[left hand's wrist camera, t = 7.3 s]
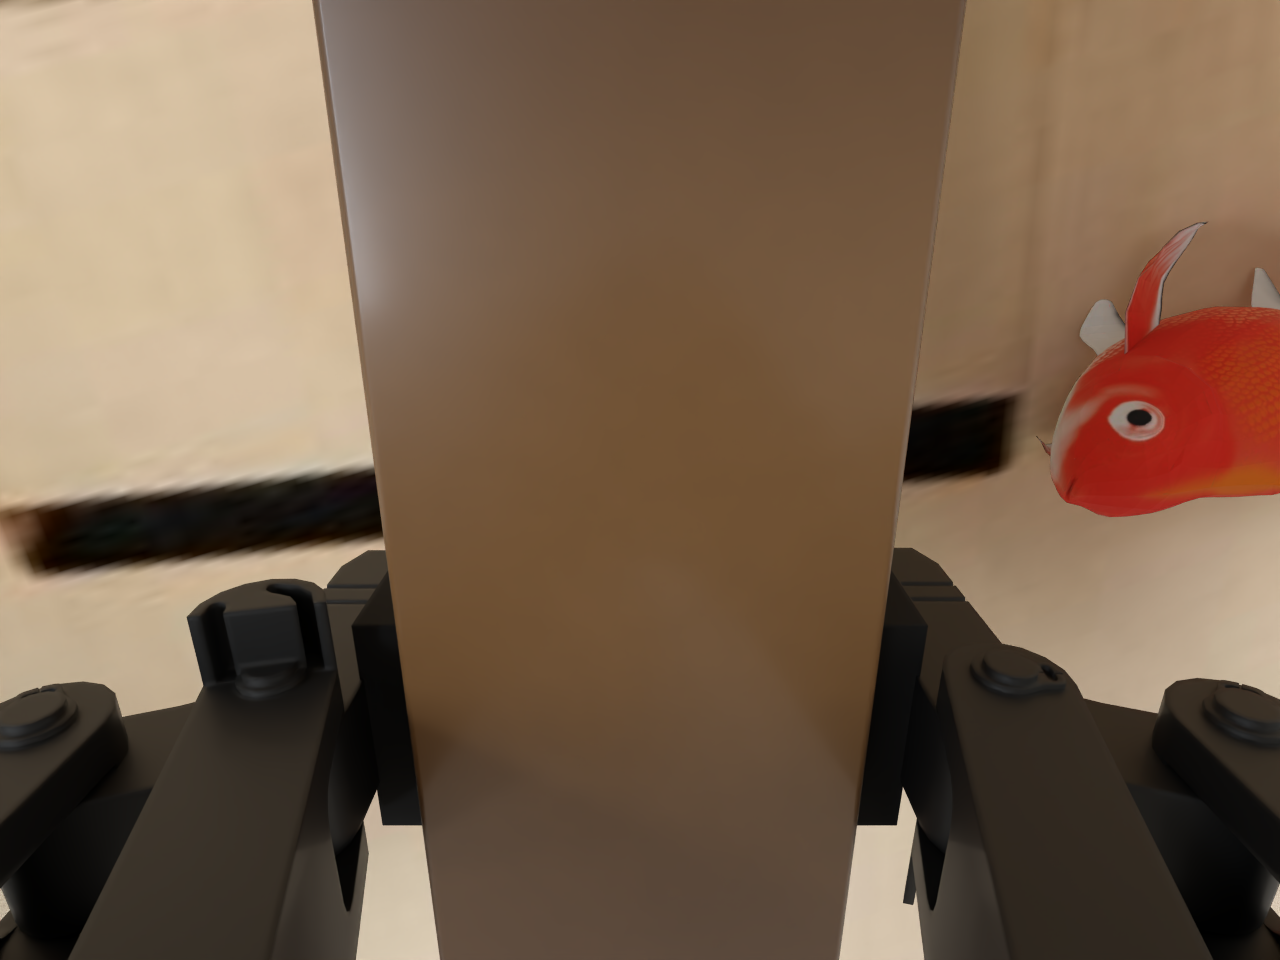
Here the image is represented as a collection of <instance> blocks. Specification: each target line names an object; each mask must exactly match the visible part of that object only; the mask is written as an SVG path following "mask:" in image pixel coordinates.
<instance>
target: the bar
mask: <svg viewBox="0 0 1280 960" xmlns="http://www.w3.org/2000/svg"><path fill="white" fill-rule="evenodd" d="M966 1H967V0H312V3H313V10H314V18H315V25H316V33H317V40H318V48H319V55H320V63H321V70H322V78H323V85H324V93H325V100H326V108H327V115H328V123H329V130H330V138H331V145H332V153H333V160H334V168H335V175H336V183H337V190H338V198H339V205H340V213H341V220H342V228H343V235H344V243H345V250H346V258H347V265H348V273H349V280H350V288H351V295H352V303H353V310H354V318H355V325H356V333H357V340H358V348H359V355H360V363H361V370H362V378H363V385H364V393H365V400H366V408H367V415H368V423H369V430H370V438H371V445H372V453H373V460H374V468H375V475H376V483H377V490H378V498H379V505H380V513H381V520H382V528H383V535H384V543H385V550H386V558H387V565H388V573H389V580H390V588H391V595H392V603H393V610H394V618H395V625H396V633H397V640H398V648H399V655H400V663H401V670H402V678H403V685H404V693H405V700H406V708H407V715H408V723H409V730H410V738H411V745H412V753H413V760H414V768H415V775H416V783H417V790H418V798H419V805H420V813H421V820H422V828H423V835H424V843H425V850H426V858H427V865H428V873H429V880H430V888H431V895H432V903H433V910H434V918H435V925H436V933H437V940H438V948H439V955H440V960H839V956H840V949H841V941H842V934H843V926H844V919H845V911H846V904H847V896H848V889H849V881H850V874H851V866H852V859H853V851H854V844H855V836H856V829H857V821H858V813H859V806H860V798H861V791H862V783H863V776H864V768H865V761H866V753H867V746H868V738H869V731H870V723H871V716H872V708H873V701H874V693H875V686H876V678H877V670H878V663H879V655H880V648H881V640H882V633H883V625H884V618H885V610H886V603H887V595H888V588H889V580H890V573H891V565H892V558H893V550H894V542H895V535H896V527H897V520H898V512H899V505H900V497H901V490H902V482H903V475H904V467H905V460H906V452H907V445H908V437H909V430H910V422H911V415H912V407H913V399H914V392H915V384H916V377H917V369H918V362H919V354H920V347H921V339H922V332H923V324H924V317H925V309H926V302H927V294H928V287H929V279H930V272H931V264H932V256H933V249H934V241H935V234H936V226H937V219H938V211H939V204H940V196H941V189H942V181H943V174H944V166H945V159H946V151H947V144H948V136H949V129H950V121H951V113H952V106H953V98H954V91H955V83H956V76H957V68H958V61H959V53H960V46H961V38H962V31H963V23H964V16H965V8H966Z"/></svg>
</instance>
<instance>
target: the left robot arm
mask: <svg viewBox="0 0 1280 960" xmlns="http://www.w3.org/2000/svg"><path fill="white" fill-rule="evenodd" d="M187 620H188V624H189V628H190V632H191V637H192V641H193V645H194V649H195V653H196V657H197V661H198V665H199V669H200V673H201V677H202V681H203V685H204V686H203V688H202V690H201V692H200V694H199V696H198V698H197V700H196V702H194V703H190V704H186V705H182V706H177V707H172V708H167V709H162V710H157V711H151V712H146V713H141V714H136V715H131V716H125V717H122V715H121V711H120V708H119V705H118V701H117V698H116V695H115V693H114V692H113V691H112V690H110V689H109V688H108V687H106V686H105V685H103V684H96V683H89V682H75V683H65V684H53V685H48V686H43V687H42V688H41V689H38V688H35V689H32V690H29V691H26V692H23V693H21V694H19V695H17V696H16V697H14V698H12V699H10V700H7V701H5V702H3V703H0V888H1V889H2V891H3V894H4V896H5V899H6V901H7V904H8V906H9V908H10V911H9V912H8V913H7V914H6V915H5V916H4V918H3V919H2V920H1V921H0V960H356V953H357V945H358V937H359V929H360V920H361V912H362V904H363V896H364V887H365V879H366V871H367V863H368V855H369V853H368V846H367V839H366V833H365V827H364V821H363V820H364V818H365V815H366V813H367V811H368V809H369V806H370V804H371V802H372V799H373V797H374V795H375V793H376V790H377V792H378V798H379V805H380V811H381V817H382V824H383V825H422V820H421V813H420V805H419V798H418V790H417V783H416V775H415V768H414V760H413V753H412V745H411V738H410V730H409V723H408V715H407V708H406V700H405V693H404V685H403V678H402V670H401V663H400V655H399V648H398V640H397V633H396V625H395V618H394V610H393V603H392V595H391V588H390V580H389V573H388V565H387V558H386V550H368V551H366V552H365V553H363V554H361V555H360V556H358V557H356V558H355V559H353V560H351V561H350V562H348V563H346V564H345V565H343V566H342V567H341V568H340V569H339V570H338V572H337V573H336V574H335V576H334V577H333V578H332V579H331V581H330V582H329V583H328V584H327V589H322V588H320V587H319V586H317V585H316V584H315V583H312V582H308V581H303V580H298V579H270V580H264V581H259V582H253V583H248V584H244V585H241V586H238V587H235V588H232V589H229V590H226V591H223V592H220V593H219V594H217V595H215V596H213V597H211V598H210V599H208V600H206V601H204V602H202V603H201V604H199V605H198V606H197V607H196V608H195V609H194V610H193V611H192V612H191V613H190V614H189V615H188V616H187ZM903 788H904V790H905V792H906V794H907V797H908V799H909V801H910V803H911V806H912V808H913V810H914V813H915V815H916V817H917V821H916V827H915V833H914V839H913V845H912V851H911V857H910V863H909V869H908V874H907V880H906V886H905V893H904V900H903V903H906V904H911V905H913V903H914V898H915V893H916V894H917V902H918V910H919V919H920V927H921V935H922V943H923V951H924V960H1280V917H1279V916H1278V915H1277V914H1276V913H1275V911H1274V910H1273V909H1272V908H1271V904H1272V902H1273V899H1274V897H1275V894H1276V892H1277V889H1278V887H1279V884H1280V699H1277V698H1275V697H1273V696H1270V695H1268V694H1266V693H1264V692H1263V691H1261V690H1259V689H1257V688H1254V687H1251V686H1247V685H1244V684H1242V685H1239V683H1236V682H1231V681H1226V680H1212V679H1202V678H1194V679H1187V680H1181V681H1176V682H1175V683H1173V684H1172V685H1171V686H1169V687H1168V688H1167V689H1165V692H1164V696H1163V699H1162V702H1161V706H1160V709H1159V713H1158V714H1157V713H1152V712H1146V711H1141V710H1136V709H1131V708H1125V707H1120V706H1115V705H1110V704H1105V703H1100V702H1096V701H1092V700H1088V699H1084V698H1083V697H1082V695H1081V693H1080V691H1079V689H1078V687H1077V685H1076V683H1075V682H1074V681H1073V680H1072V679H1071V677H1070V676H1069V675H1068V674H1067V673H1066V671H1065V670H1063V669H1062V668H1060V667H1059V666H1057V665H1056V664H1054V663H1053V662H1051V661H1050V660H1048V659H1047V658H1045V657H1043V656H1040V655H1038V654H1035V653H1033V652H1030V651H1028V650H1026V649H1023V648H1020V647H1015V646H1011V645H1006V644H1002V643H1001V642H1000V641H999V639H998V638H997V637H996V636H995V634H994V633H993V632H992V631H991V629H990V628H989V627H988V626H987V624H986V623H985V622H984V621H983V619H982V618H981V617H980V616H979V614H978V613H977V612H976V611H975V609H974V608H973V607H972V606H971V604H970V603H969V602H968V601H965V597H964V596H963V594H962V593H961V592H960V591H959V589H958V588H957V587H956V586H953V582H952V581H951V579H950V578H949V577H948V576H947V574H946V573H945V572H944V571H943V569H942V568H941V567H940V566H939V564H938V563H936V562H934V561H933V560H931V559H929V558H928V557H926V556H924V555H923V554H921V553H919V552H918V551H916V550H914V549H913V548H894V550H893V558H892V565H891V573H890V580H889V588H888V595H887V603H886V610H885V618H884V625H883V633H882V640H881V648H880V655H879V663H878V670H877V678H876V686H875V693H874V701H873V708H872V716H871V723H870V731H869V738H868V746H867V753H866V761H865V768H864V776H863V783H862V791H861V798H860V806H859V813H858V821H857V825H897V821H898V814H899V808H900V802H901V795H902V789H903Z"/></svg>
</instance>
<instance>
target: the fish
mask: <svg viewBox="0 0 1280 960" xmlns="http://www.w3.org/2000/svg"><path fill="white" fill-rule="evenodd" d="M1206 223H1207V222H1200V223H1196V224H1194V225H1192V226H1189V227H1187V228H1185V229H1183V230H1181V231H1179V232H1178V233H1177V234H1176V235H1175V236H1174V237H1173V238H1172V239H1171V240H1170V241H1169V242H1168V243H1167V244H1166V245H1165V246H1164V247H1163V248H1162V250H1161V251H1160V252H1159V253H1158V254H1157V255H1156V256H1154V257H1153V258H1152V259H1151V260H1150V261H1149V262H1148V264H1147V265H1146V267H1145V268H1144V270H1143V271H1142V273H1141V274H1140V276H1139V277H1138V279H1137V282H1136V285H1135V288H1134V291H1133V294H1132V296H1131V299H1130V302H1129V304H1128V307H1127V309H1126V313H1125V324H1124V322H1123V321H1122V319H1121V318H1120V316H1119V315H1118V313H1117V311H1116V309H1115V307H1114V305H1113V303H1112V302H1111V301H1109V300H1099V301H1097V302H1096V303H1095V304H1094V306H1093V307H1092V308H1091V310H1090V312H1089V314H1088V316H1087V317H1086V319H1085V321H1084V323H1083V325H1082V327H1081V330H1080V337H1081V339H1082V341H1083V342H1085V343H1086V344H1087V345H1088V346H1090V347H1091V348H1092V349H1093V350H1094V351H1095V352H1096V354H1097V357H1096V358H1095V359H1094V360H1093V361H1092V363H1091V364H1090V365H1089V366H1088V367H1087V369H1086V370H1085V371H1084V372H1083V373H1082V375H1081V376H1080V377H1079V378H1078V380H1077V381H1076V382H1075V384H1074V386H1073V388H1072V389H1071V391H1070V393H1069V395H1068V396H1067V399H1066V401H1065V403H1064V406H1063V408H1062V411H1061V413H1060V416H1059V418H1058V421H1057V425H1056V428H1055V431H1054V434H1053V440H1052V444H1046V445H1045V444H1044V443H1043V442H1042V441H1041V440H1040V439H1039V438H1038V437H1037V436H1036V437H1037V438H1038V439H1039V440H1040V442H1041V443H1042V445H1043V447H1044V449H1045V451H1046V453H1048V454H1049V455H1050V456H1051V457H1050V472H1051V477H1052V480H1053V482H1054V485H1055V487H1056V489H1057V491H1058V493H1059V495H1060V496H1061V497H1062V498H1063V499H1064V500H1065V501H1066V502H1067V503H1071V504H1075V505H1079V506H1082V507H1084V508H1086V509H1088V510H1090V511H1092V512H1094V513H1096V514H1098V515H1102V516H1106V517H1123V516H1133V515H1141V514H1148V513H1153V512H1157V511H1161V510H1164V509H1167V508H1170V507H1173V506H1176V505H1178V504H1181V503H1184V502H1187V501H1190V500H1193V499H1197V498H1201V497H1240V496H1254V495H1274V494H1278V493H1280V294H1279V293H1278V291H1277V290H1276V288H1275V286H1274V285H1273V283H1272V281H1271V280H1270V278H1269V277H1268V275H1267V273H1266V272H1265V270H1264V269H1261V268H1255V276H1254V284H1253V291H1252V303H1251V305H1252V307H1211V308H1204V309H1200V310H1196V311H1193V312H1189V313H1185V314H1181V315H1177V316H1173V317H1169V318H1166V319H1163V320H1160V316H1161V310H1162V293H1163V286H1164V282H1165V280H1166V278H1167V276H1168V274H1169V272H1170V270H1171V269H1172V267H1173V266H1174V264H1175V263H1176V261H1177V260H1178V259H1179V257H1180V256H1181V255H1182V253H1183V252H1184V251H1185V249H1186V248H1187V246H1188V244H1189V243H1190V242H1191V240H1192V239H1193V237H1194V235H1195V233H1196V232H1197V230H1198V228H1199V227H1201V226H1202V225H1204V224H1206Z"/></svg>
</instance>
